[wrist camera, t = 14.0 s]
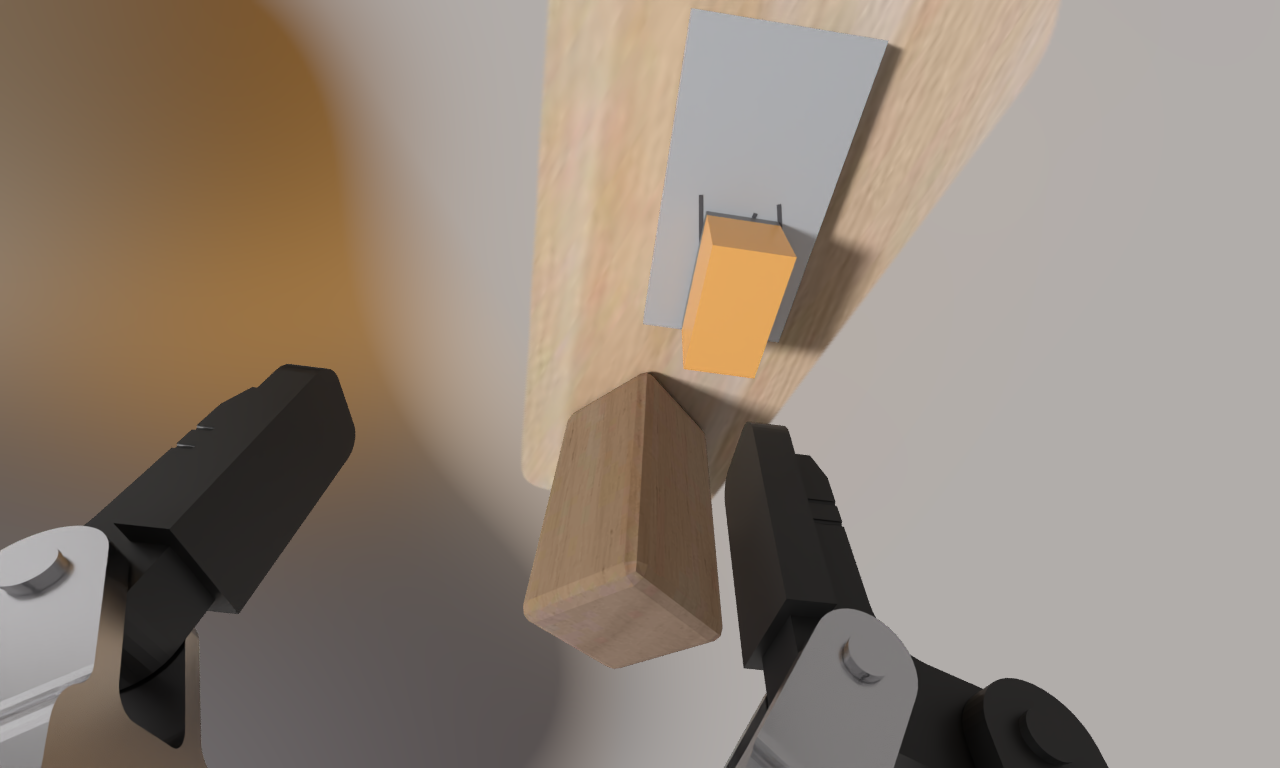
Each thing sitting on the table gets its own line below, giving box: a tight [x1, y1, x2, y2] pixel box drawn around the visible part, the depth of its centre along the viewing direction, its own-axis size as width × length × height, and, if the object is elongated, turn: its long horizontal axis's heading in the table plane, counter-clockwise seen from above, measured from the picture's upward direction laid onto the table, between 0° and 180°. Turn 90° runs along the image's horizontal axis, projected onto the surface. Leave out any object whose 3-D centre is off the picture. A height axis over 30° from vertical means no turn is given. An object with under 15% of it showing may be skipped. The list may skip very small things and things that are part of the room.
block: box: [523, 373, 722, 669], centre depth 39 cm, size 10×10×20 cm
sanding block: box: [682, 211, 797, 378], centre depth 33 cm, size 9×5×6 cm, turn 172°
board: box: [643, 8, 888, 342], centre depth 33 cm, size 20×11×2 cm, turn 173°
